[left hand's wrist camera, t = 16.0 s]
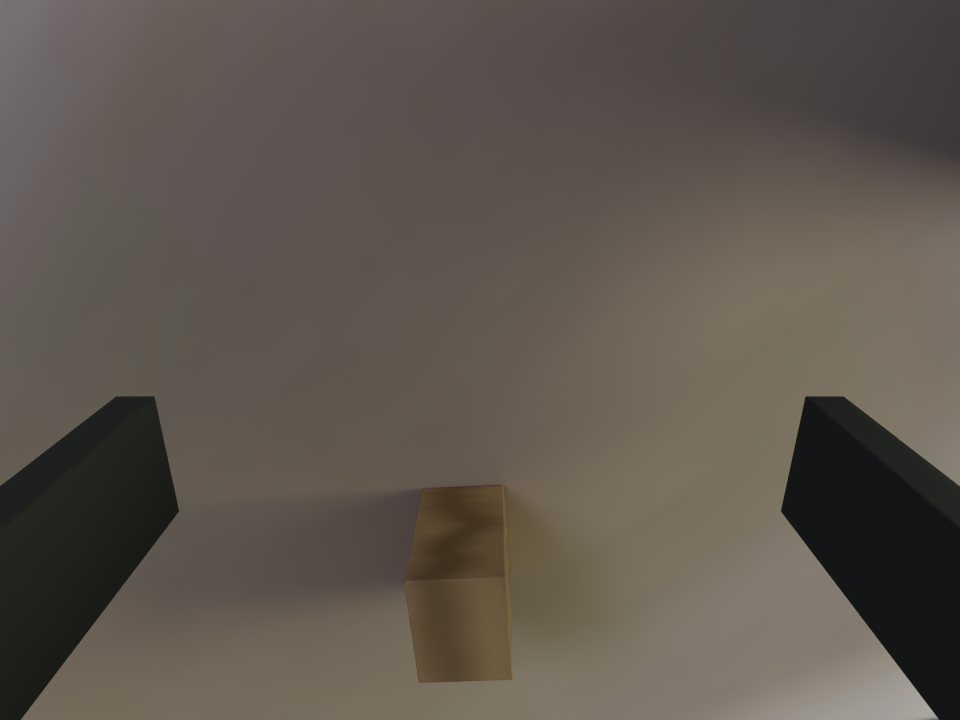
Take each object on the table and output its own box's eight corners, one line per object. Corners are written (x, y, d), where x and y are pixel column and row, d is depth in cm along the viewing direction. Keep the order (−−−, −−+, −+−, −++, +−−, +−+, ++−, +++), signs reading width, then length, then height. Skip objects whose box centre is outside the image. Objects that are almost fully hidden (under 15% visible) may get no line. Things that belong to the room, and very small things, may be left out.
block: (503, 484, 37) (505, 577, 30) (509, 573, 40) (512, 680, 32) (421, 488, 38) (403, 581, 30) (433, 576, 40) (418, 683, 33)
